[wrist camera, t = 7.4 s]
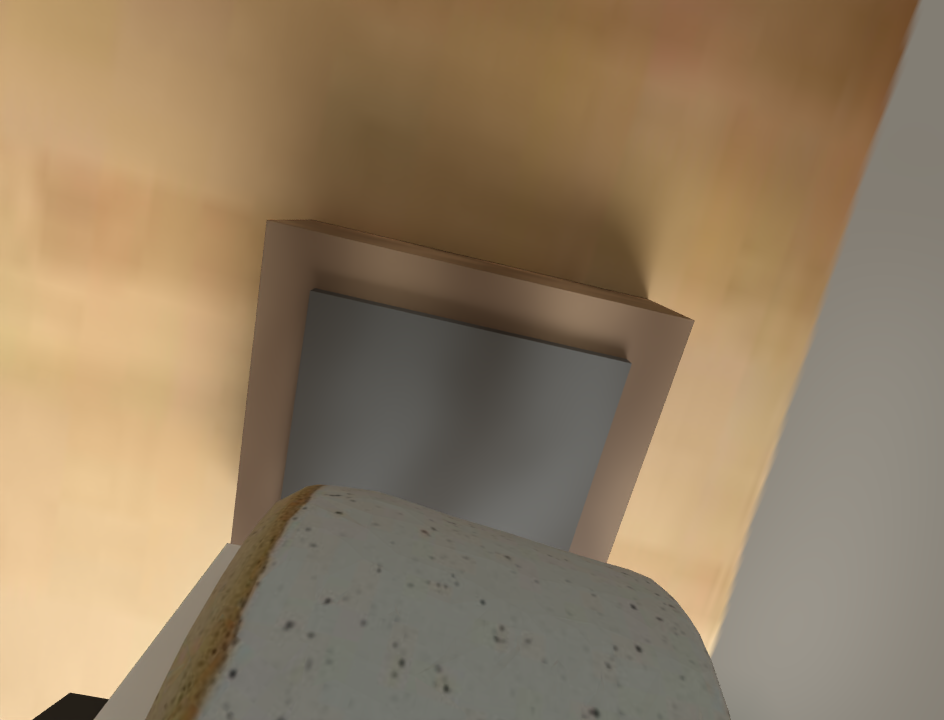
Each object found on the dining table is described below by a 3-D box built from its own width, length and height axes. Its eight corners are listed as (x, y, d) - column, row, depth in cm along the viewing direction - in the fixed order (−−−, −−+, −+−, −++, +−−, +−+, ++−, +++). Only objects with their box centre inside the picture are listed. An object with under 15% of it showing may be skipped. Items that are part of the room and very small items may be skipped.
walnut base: (270, 520, 26) (219, 597, 21) (311, 219, 22) (259, 220, 17) (556, 576, 28) (576, 663, 22) (648, 299, 23) (702, 323, 18)
